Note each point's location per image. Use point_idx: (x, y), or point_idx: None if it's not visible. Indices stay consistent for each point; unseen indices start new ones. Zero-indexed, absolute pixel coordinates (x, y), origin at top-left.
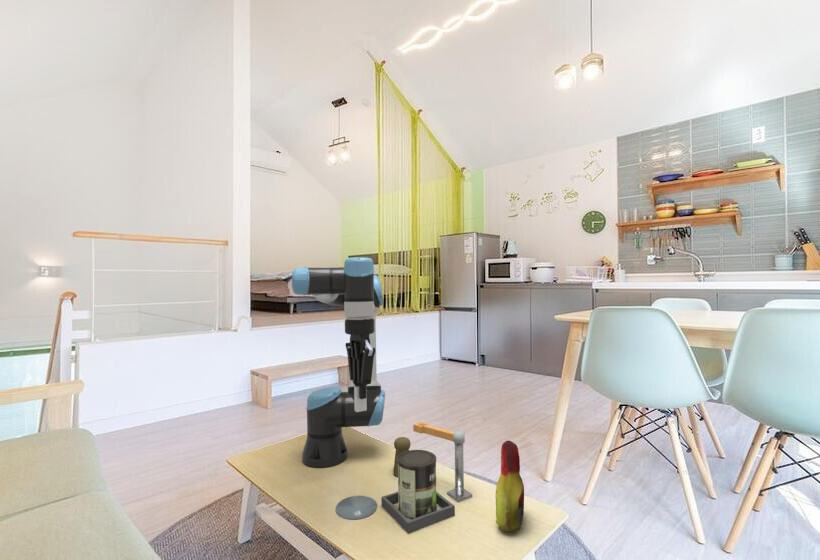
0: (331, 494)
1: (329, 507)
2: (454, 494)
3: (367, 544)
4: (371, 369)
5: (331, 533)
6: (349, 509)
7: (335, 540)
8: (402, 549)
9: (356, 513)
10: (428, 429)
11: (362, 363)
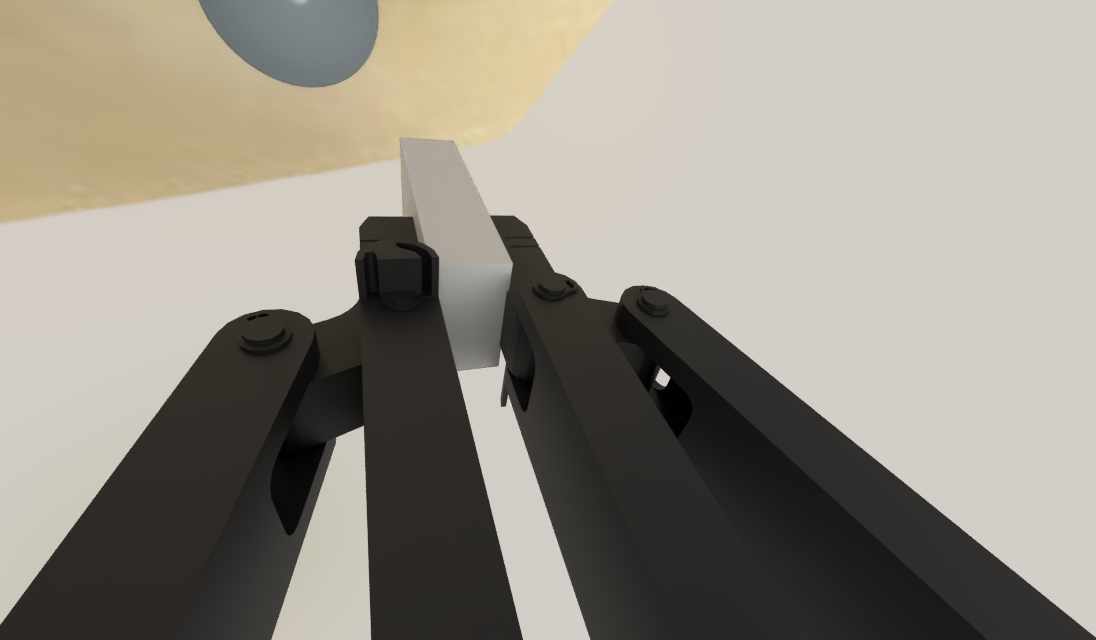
0: (122, 27)
1: (243, 87)
2: None
3: (501, 90)
4: (835, 447)
5: None
6: (301, 35)
7: None
8: (577, 21)
9: (342, 29)
10: None
11: (812, 636)
